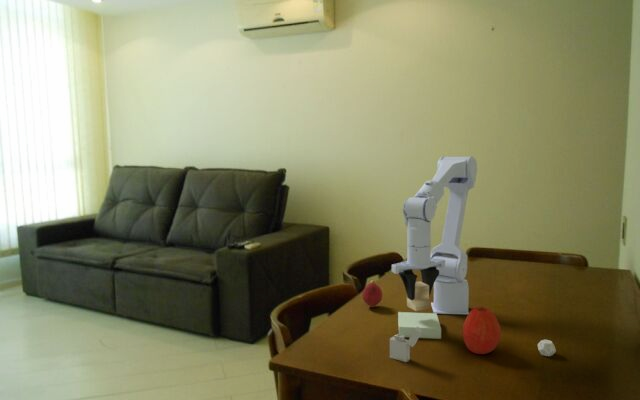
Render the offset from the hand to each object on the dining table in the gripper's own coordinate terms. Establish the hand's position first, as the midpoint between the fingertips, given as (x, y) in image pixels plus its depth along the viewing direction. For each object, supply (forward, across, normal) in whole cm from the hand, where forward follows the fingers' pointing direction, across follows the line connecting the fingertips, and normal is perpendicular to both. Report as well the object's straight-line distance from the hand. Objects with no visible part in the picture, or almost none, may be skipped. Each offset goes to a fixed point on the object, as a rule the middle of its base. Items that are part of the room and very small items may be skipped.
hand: (418, 297), depth 112 cm
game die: (+9, -18, +23) cm, 30 cm away
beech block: (+3, 0, 0) cm, 3 cm away
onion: (+9, +3, -19) cm, 21 cm away
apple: (+9, -6, +16) cm, 19 cm away
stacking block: (+9, 0, 0) cm, 9 cm away
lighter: (+9, +12, +13) cm, 19 cm away
